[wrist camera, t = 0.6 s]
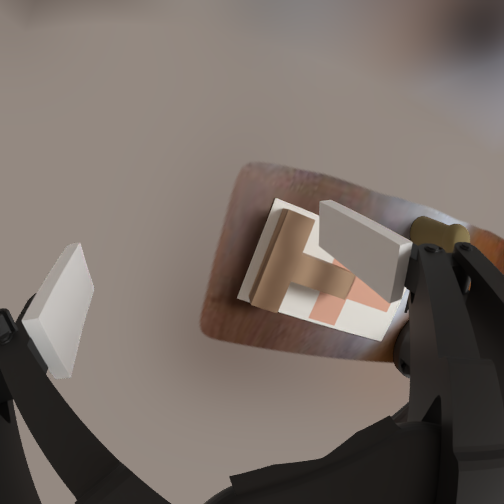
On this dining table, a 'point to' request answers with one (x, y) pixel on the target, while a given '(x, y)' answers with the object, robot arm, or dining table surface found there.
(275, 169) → the dining table surface
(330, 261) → the mat
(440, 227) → the olive pepper mill
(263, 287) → the t block
